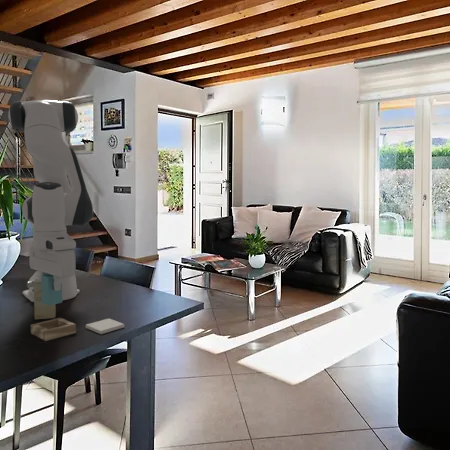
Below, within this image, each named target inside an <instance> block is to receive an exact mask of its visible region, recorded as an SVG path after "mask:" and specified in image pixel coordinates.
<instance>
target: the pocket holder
mask: <svg viewBox="0 0 450 450" xmlns="http://www.w3.org/2000/svg"><path fill="white" fill-rule="evenodd" d="M76 333H77V324H76V323H74V322H71V321H69V320H67V319H65V318H62V317H58V318H51V319H50V320H46V321H45V320H44V321H41V322H36V323H32V324H30V334H31V335H33V336H36V338H39V339H41V340H43V341H44V342H48V341H50V340H51V341H52V340H55V339H58V338H62V337H66V336H70V335H73V334H76Z"/></svg>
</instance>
